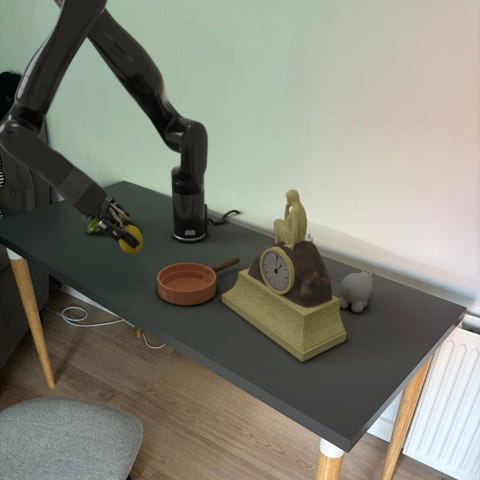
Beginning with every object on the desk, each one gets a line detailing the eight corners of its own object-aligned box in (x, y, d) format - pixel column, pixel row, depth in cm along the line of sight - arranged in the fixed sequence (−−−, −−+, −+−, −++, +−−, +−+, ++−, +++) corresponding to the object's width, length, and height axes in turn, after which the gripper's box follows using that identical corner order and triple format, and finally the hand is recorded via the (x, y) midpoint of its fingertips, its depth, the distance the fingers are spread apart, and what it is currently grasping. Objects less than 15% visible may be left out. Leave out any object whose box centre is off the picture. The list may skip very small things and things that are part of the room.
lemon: (139, 261, 122) (136, 231, 118) (117, 258, 123) (113, 228, 118) (147, 251, 127) (144, 221, 122) (125, 249, 127) (123, 219, 123)
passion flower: (103, 240, 160) (113, 203, 160) (125, 244, 153) (135, 206, 153) (73, 229, 151) (83, 190, 151) (95, 233, 144) (106, 192, 144)
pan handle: (236, 260, 136) (236, 254, 135) (241, 263, 135) (241, 257, 134) (204, 274, 129) (204, 267, 128) (209, 276, 128) (209, 270, 127)
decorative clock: (221, 301, 122) (223, 178, 105) (263, 286, 129) (270, 168, 112) (302, 362, 104) (319, 225, 87) (345, 340, 111) (369, 209, 94)
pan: (191, 270, 134) (191, 257, 132) (227, 292, 126) (228, 278, 124) (146, 288, 126) (145, 274, 124) (182, 313, 118) (181, 298, 115)
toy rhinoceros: (382, 297, 126) (388, 266, 121) (359, 317, 118) (365, 286, 113) (356, 287, 130) (361, 257, 125) (332, 306, 122) (337, 275, 117)
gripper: (85, 191, 108) (146, 243, 115) (97, 169, 120) (151, 218, 127) (63, 214, 110) (124, 264, 118) (77, 191, 122) (131, 237, 130)
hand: (138, 239), depth 123 cm, fingers closed on lemon, 5 cm apart
